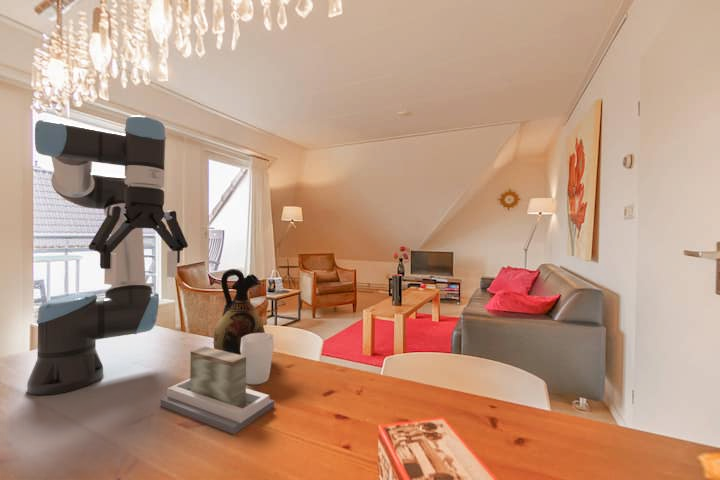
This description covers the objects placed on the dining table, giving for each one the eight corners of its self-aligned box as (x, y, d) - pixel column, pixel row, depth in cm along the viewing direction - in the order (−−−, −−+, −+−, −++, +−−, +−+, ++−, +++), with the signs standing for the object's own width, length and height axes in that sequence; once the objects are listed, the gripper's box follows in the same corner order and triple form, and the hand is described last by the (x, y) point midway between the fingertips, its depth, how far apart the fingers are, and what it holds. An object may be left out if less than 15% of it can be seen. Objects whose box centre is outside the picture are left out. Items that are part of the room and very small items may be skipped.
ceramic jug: (270, 354, 109) (271, 267, 109) (257, 373, 94) (258, 272, 93) (220, 354, 108) (221, 266, 108) (198, 373, 93) (200, 271, 93)
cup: (263, 388, 84) (264, 343, 84) (233, 385, 86) (233, 341, 86) (278, 374, 93) (279, 333, 93) (250, 371, 95) (251, 331, 95)
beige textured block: (190, 396, 76) (190, 351, 76) (204, 389, 80) (205, 346, 80) (231, 411, 70) (232, 362, 70) (245, 403, 74) (246, 356, 74)
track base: (160, 405, 75) (160, 391, 75) (204, 384, 86) (204, 372, 86) (233, 434, 65) (234, 417, 65) (273, 406, 75) (274, 392, 75)
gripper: (89, 177, 59) (87, 289, 60) (203, 194, 82) (202, 275, 82) (67, 179, 62) (66, 286, 63) (184, 194, 85) (182, 273, 86)
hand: (143, 280), depth 73 cm, fingers open, 13 cm apart
